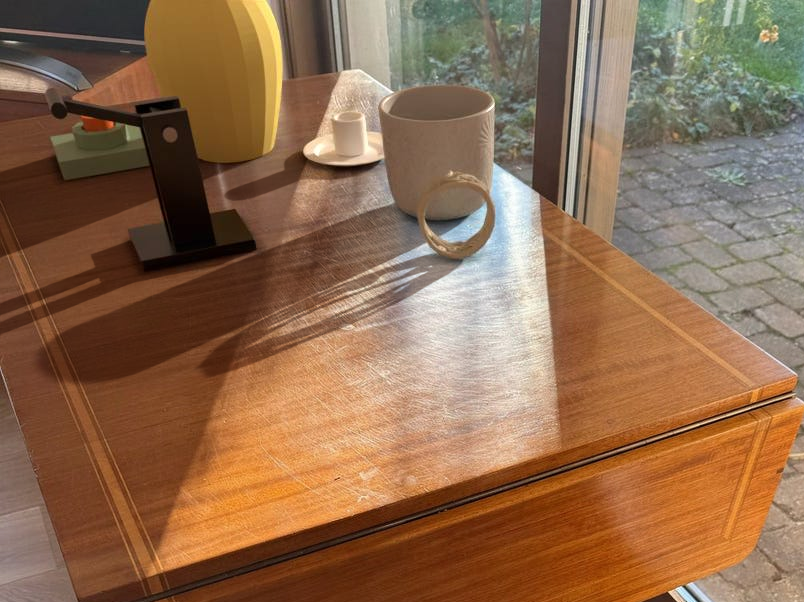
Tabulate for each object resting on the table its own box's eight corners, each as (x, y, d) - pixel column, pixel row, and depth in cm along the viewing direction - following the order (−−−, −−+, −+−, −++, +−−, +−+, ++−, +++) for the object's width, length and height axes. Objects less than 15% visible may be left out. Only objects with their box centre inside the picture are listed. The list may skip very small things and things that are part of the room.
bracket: (144, 272, 102) (104, 130, 92) (130, 239, 108) (91, 102, 98) (257, 249, 105) (230, 109, 95) (237, 219, 111) (210, 84, 101)
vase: (178, 179, 120) (111, -106, 100) (164, 137, 131) (101, -127, 111) (308, 160, 123) (267, -119, 103) (283, 120, 134) (243, -139, 114)
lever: (50, 123, 92) (51, 95, 90) (44, 107, 95) (45, 80, 94) (182, 149, 98) (185, 123, 96) (172, 133, 101) (175, 108, 100)
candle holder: (372, 176, 119) (369, 138, 116) (286, 165, 122) (280, 128, 119) (413, 142, 127) (411, 106, 124) (331, 133, 130) (327, 97, 127)
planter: (393, 234, 107) (383, 126, 99) (383, 191, 116) (373, 88, 108) (504, 223, 108) (503, 116, 100) (486, 181, 117) (484, 80, 109)
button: (86, 135, 121) (82, 120, 120) (83, 126, 124) (78, 111, 122) (116, 131, 122) (112, 115, 121) (112, 122, 125) (107, 107, 123)
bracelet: (497, 258, 102) (496, 178, 96) (421, 263, 102) (415, 184, 96) (493, 241, 105) (491, 163, 99) (419, 247, 104) (413, 169, 99)
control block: (64, 180, 121) (53, 146, 118) (55, 154, 127) (44, 121, 124) (162, 163, 124) (154, 129, 121) (148, 139, 130) (140, 106, 127)
